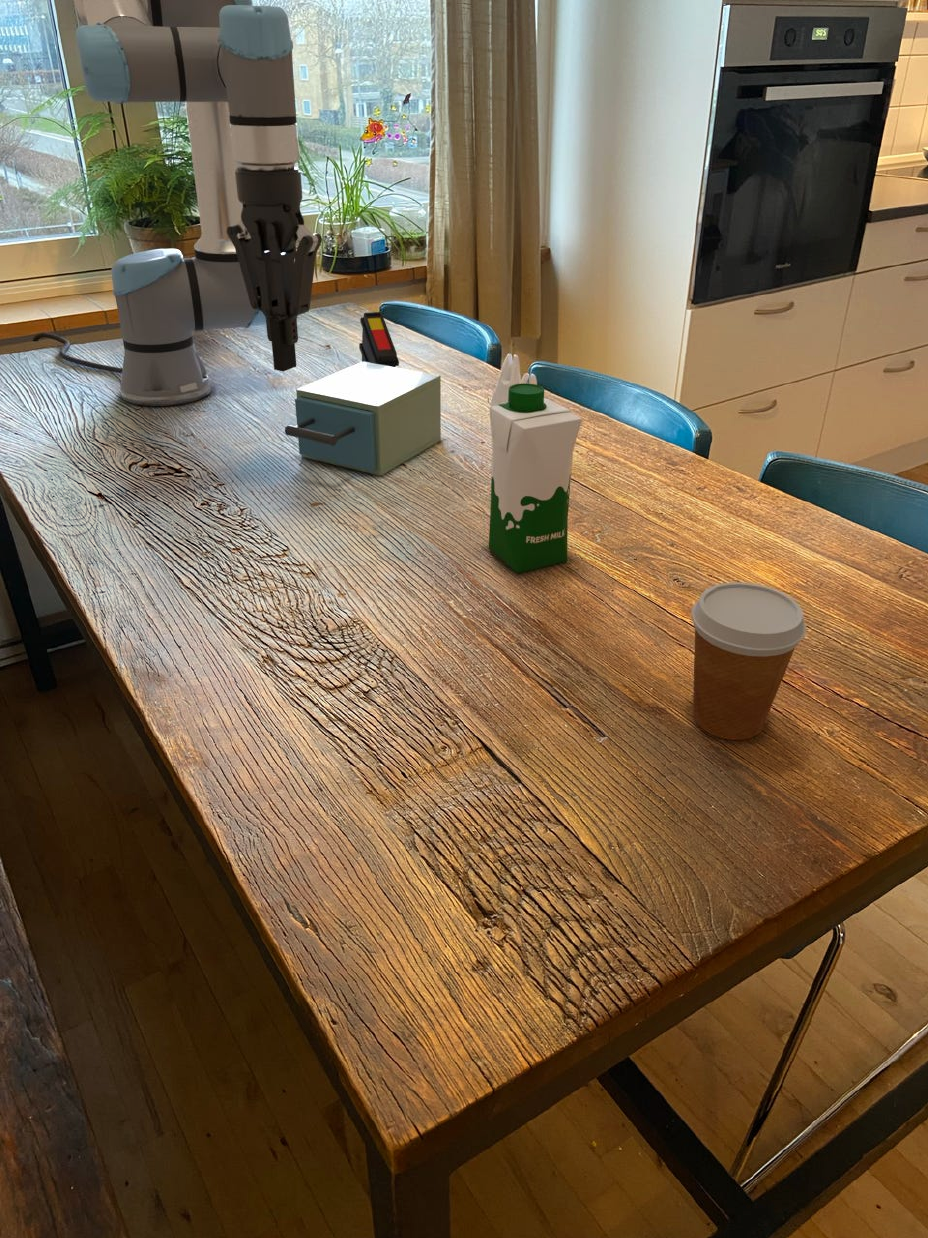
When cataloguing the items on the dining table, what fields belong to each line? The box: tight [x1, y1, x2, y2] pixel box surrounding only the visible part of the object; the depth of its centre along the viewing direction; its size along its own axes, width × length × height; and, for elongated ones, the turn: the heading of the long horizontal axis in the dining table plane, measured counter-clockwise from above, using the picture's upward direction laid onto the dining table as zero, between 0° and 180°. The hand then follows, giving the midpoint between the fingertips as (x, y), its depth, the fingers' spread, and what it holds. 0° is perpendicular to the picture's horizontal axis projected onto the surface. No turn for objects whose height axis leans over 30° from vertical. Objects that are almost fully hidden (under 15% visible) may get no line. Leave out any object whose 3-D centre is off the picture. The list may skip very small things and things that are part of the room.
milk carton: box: [488, 383, 584, 574], centre depth 106 cm, size 9×9×20 cm
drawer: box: [284, 397, 377, 472], centre depth 134 cm, size 21×13×8 cm, turn 150°
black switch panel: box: [358, 311, 400, 367], centre depth 155 cm, size 4×13×15 cm, turn 19°
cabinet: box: [295, 361, 442, 477], centre depth 138 cm, size 17×14×10 cm
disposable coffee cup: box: [690, 581, 807, 741], centre depth 81 cm, size 10×10×12 cm
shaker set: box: [489, 353, 538, 407], centre depth 147 cm, size 12×4×11 cm, turn 22°
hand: (285, 367), depth 118 cm, fingers closed
